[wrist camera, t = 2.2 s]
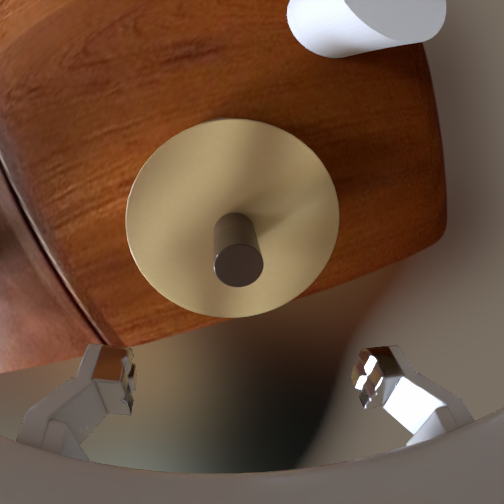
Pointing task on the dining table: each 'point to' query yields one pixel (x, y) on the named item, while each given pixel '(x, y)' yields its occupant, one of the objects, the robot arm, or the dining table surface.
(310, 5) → the white cylinder
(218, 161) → the basket lid
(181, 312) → the dining table surface
